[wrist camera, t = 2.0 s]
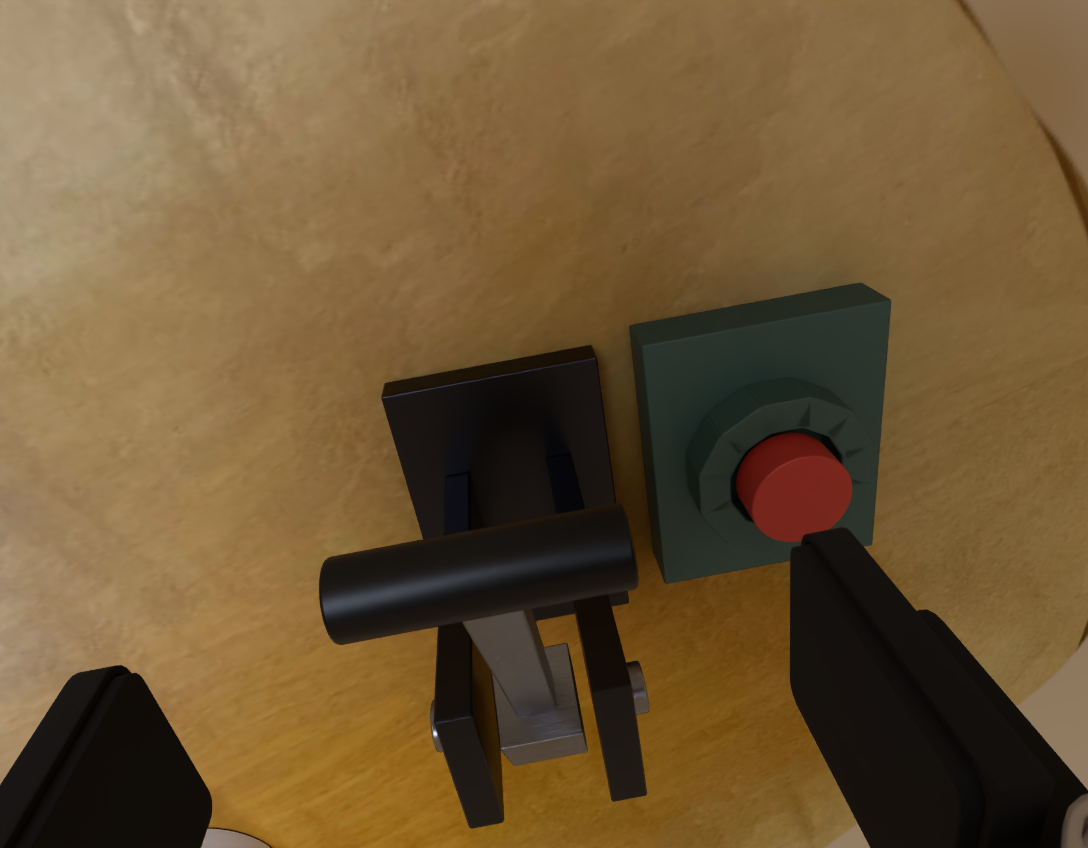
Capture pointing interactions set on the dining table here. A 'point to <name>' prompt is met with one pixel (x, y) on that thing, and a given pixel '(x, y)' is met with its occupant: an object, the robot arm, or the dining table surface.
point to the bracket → (505, 497)
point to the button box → (754, 415)
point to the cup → (230, 840)
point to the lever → (493, 608)
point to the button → (793, 486)
